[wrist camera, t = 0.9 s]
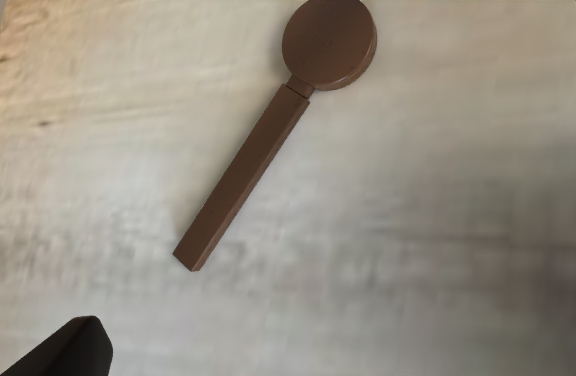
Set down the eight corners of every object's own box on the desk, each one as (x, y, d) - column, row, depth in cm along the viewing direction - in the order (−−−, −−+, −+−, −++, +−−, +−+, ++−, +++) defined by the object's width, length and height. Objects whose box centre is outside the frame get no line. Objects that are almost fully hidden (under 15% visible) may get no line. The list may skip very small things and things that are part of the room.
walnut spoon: (396, 25, 22) (393, 15, 21) (219, 290, 24) (209, 291, 23) (321, -13, 24) (315, -23, 23) (162, 236, 26) (151, 236, 25)
